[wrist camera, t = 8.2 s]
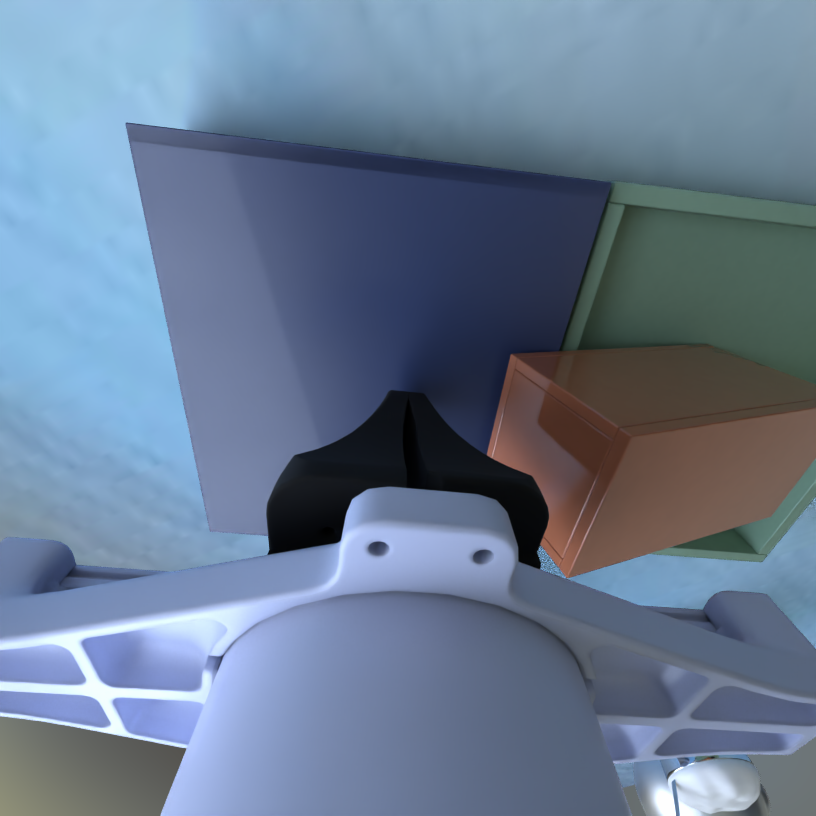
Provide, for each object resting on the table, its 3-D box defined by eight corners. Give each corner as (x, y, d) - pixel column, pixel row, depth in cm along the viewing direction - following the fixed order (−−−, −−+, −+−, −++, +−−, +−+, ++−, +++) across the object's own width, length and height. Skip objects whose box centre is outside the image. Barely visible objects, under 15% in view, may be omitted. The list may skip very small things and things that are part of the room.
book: (485, 506, 22) (496, 552, 19) (235, 487, 21) (209, 531, 18) (572, 184, 14) (612, 182, 11) (183, 136, 13) (124, 122, 11)
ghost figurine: (640, 758, 38) (708, 925, 30) (598, 724, 35) (662, 901, 26) (734, 732, 36) (839, 907, 27) (699, 692, 32) (808, 879, 23)
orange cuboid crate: (482, 472, 16) (566, 579, 12) (510, 353, 13) (631, 435, 9) (656, 442, 19) (771, 517, 15) (706, 343, 17) (860, 400, 12)
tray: (728, 527, 23) (762, 562, 21) (491, 508, 22) (500, 543, 20) (940, 226, 15) (1033, 231, 13) (583, 182, 14) (615, 180, 12)
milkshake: (604, 612, 27) (700, 816, 18) (679, 615, 27) (810, 818, 18) (585, 649, 29) (662, 847, 20) (655, 652, 29) (761, 848, 20)
